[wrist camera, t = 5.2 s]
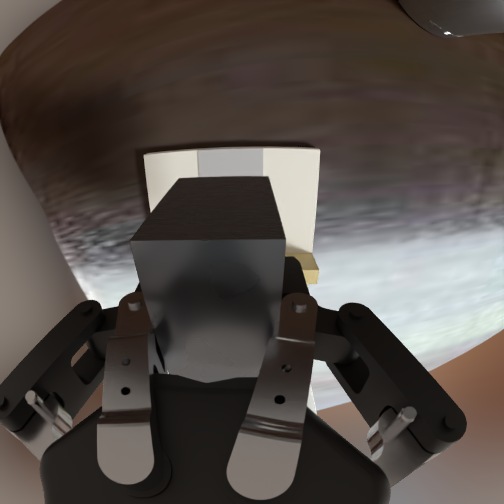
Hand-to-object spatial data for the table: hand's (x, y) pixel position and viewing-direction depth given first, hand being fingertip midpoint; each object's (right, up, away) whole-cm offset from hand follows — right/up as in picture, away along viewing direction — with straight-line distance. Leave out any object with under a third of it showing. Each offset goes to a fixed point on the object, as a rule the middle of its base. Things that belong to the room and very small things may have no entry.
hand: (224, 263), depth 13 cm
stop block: (0, 0, +1) cm, 1 cm away
